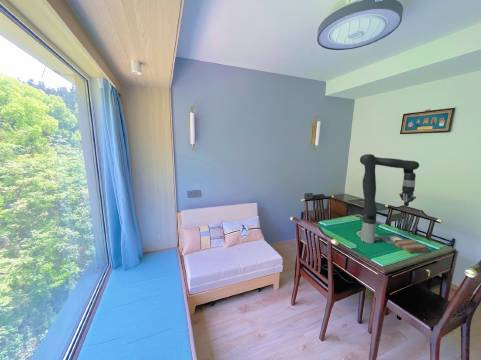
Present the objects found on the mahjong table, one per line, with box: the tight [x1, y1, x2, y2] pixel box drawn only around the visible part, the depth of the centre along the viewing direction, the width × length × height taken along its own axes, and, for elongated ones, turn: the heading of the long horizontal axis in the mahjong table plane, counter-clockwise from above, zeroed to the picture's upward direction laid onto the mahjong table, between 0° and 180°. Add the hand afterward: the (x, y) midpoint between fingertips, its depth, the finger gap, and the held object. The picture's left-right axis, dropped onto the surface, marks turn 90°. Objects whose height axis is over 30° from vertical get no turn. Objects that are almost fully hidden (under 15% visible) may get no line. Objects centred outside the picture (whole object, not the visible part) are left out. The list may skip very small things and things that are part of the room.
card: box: [390, 237, 402, 242], centre depth 163 cm, size 9×6×2 cm, turn 4°
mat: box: [376, 234, 406, 245], centre depth 167 cm, size 14×20×1 cm
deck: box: [394, 238, 429, 254], centre depth 151 cm, size 14×14×4 cm
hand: (406, 206), depth 156 cm, fingers closed
